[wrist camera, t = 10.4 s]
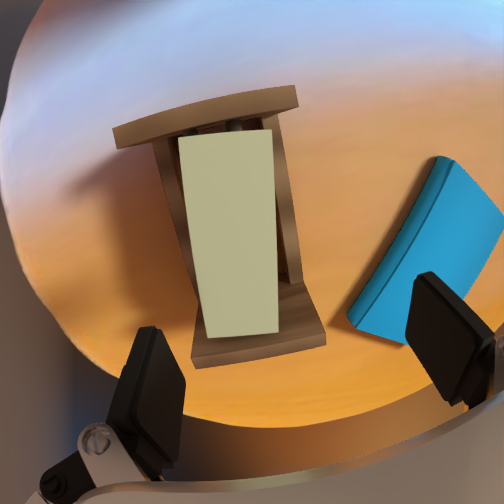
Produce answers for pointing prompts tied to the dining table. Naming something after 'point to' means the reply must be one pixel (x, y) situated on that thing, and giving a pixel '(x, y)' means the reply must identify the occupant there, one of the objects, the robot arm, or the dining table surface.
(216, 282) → the pale green block
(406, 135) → the dining table surface
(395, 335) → the book
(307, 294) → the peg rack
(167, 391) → the robot arm
